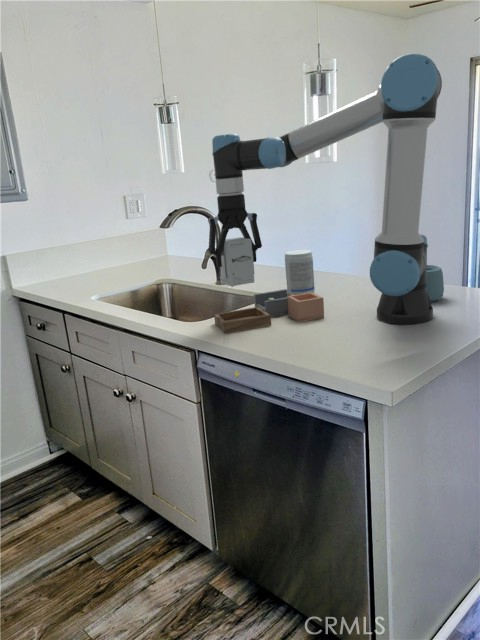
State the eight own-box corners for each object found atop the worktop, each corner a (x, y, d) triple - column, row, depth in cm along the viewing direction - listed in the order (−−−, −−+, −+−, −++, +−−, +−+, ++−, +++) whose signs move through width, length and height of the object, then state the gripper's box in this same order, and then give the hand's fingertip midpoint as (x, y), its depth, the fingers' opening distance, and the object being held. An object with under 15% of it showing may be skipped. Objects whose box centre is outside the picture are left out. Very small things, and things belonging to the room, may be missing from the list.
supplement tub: (320, 292, 182) (318, 250, 178) (299, 298, 177) (296, 255, 173) (302, 288, 190) (300, 248, 186) (281, 294, 185) (278, 252, 181)
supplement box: (231, 287, 146) (227, 242, 143) (221, 283, 153) (217, 239, 149) (255, 282, 149) (251, 238, 145) (244, 278, 156) (240, 236, 152)
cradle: (300, 312, 161) (299, 294, 160) (267, 318, 158) (265, 300, 157) (286, 303, 172) (285, 287, 170) (255, 309, 169) (253, 292, 167)
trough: (271, 325, 151) (270, 315, 150) (224, 333, 147) (223, 323, 146) (259, 316, 161) (258, 306, 160) (215, 323, 157) (214, 314, 157)
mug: (398, 293, 172) (398, 263, 169) (433, 290, 171) (433, 260, 168) (411, 305, 158) (411, 272, 155) (449, 302, 157) (449, 269, 154)
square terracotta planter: (324, 317, 154) (323, 297, 152) (299, 321, 152) (297, 301, 150) (312, 311, 161) (311, 292, 159) (288, 315, 159) (287, 296, 157)
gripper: (261, 190, 150) (267, 268, 156) (191, 197, 144) (199, 278, 151) (270, 190, 143) (276, 272, 149) (196, 198, 137) (206, 283, 144)
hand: (237, 275), depth 150 cm, fingers closed on supplement box, 8 cm apart
